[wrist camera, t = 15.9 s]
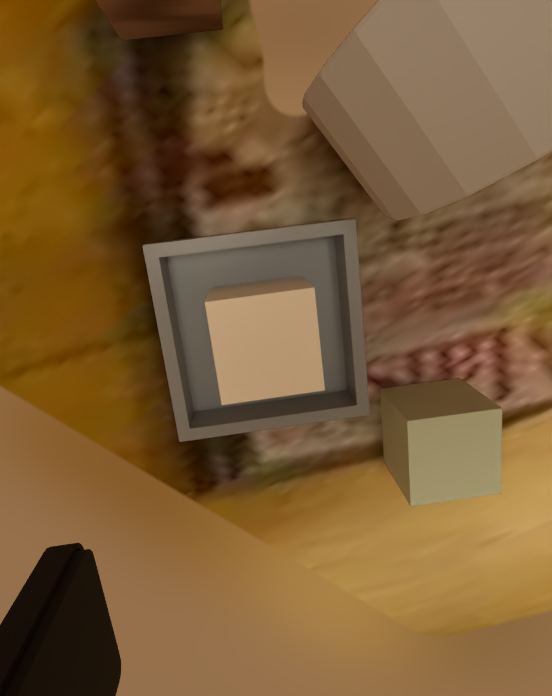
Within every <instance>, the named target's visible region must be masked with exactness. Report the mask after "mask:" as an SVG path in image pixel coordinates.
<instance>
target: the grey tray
mask: <svg viewBox="0 0 552 696" xmlns="http://www.w3.org/2000/svg"><path fill="white" fill-rule="evenodd" d="M142 246H143V251H144V256H145V261H146V267H147V272H148V277H149V283H150V288H151V293H152V299H153V304H154V309H155V315H156V320H157V325H158V330H159V336H160V341H161V346H162V352H163V357H164V362H165V368H166V373H167V378H168V383H169V389H170V394H171V399H172V405H173V410H174V415H175V421H176V426H177V431H178V436H179V442H182V441H189V440H196V439H204V438H211V437H218V436H225V435H232V434H239V433H246V432H253V431H260V430H267V429H274V428H281V427H288V426H295V425H302V424H309V423H316V422H323V421H330V420H337V419H344V418H351V417H358V416H365V415H370V410H369V396H368V382H367V368H366V354H365V341H364V327H363V313H362V299H361V285H360V272H359V258H358V244H357V230H356V219H340V220H332V221H324V222H316V223H308V224H300V225H292V226H284V227H276V228H268V229H260V230H252V231H244V232H236V233H228V234H219V235H211V236H203V237H195V238H187V239H179V240H171V241H163V242H155V243H150V244H146V245H142ZM294 276H302V277H303V278H304V279H305V280H306V281H307V282H309V283H310V284H311V285H312V286H313V287H314V288H315V298H316V308H317V317H318V327H319V337H320V347H321V356H322V366H323V376H324V386H325V390H324V391H317V392H310V393H303V394H296V395H290V396H283V397H276V398H269V399H262V400H255V401H248V402H241V403H234V404H227V405H222V404H221V398H220V392H219V386H218V380H217V374H216V368H215V362H214V356H213V350H212V344H211V337H210V331H209V325H208V319H207V313H206V307H205V300H206V298H207V296H208V293H209V291H210V289H211V287H219V286H226V285H234V284H241V283H249V282H256V281H264V280H271V279H279V278H286V277H294Z"/></svg>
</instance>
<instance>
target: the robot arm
mask: <svg viewBox="0 0 552 696" xmlns="http://www.w3.org/2000/svg"><path fill="white" fill-rule="evenodd" d="M120 675H121V659H120V655H119V650H118V646H117V643H116V639H115V635H114V631H113V627H112V623H111V620H110V616H109V612H108V608H107V604H106V601H105V597H104V593H103V589H102V585H101V581H100V578H99V574H98V570H97V566H96V562H95V559H94V555H93V552H92V551H91V550H90V549H87V550H84V548H83V546H82V545H81V544H80V543H74V544H67V545H60V546H53V547H49V548H47V549H46V551H45V552H44V553H43V555H42V556H41V558H40V560H39V561H38V563H37V565H36V566H35V568H34V570H33V571H32V573H31V575H30V576H29V578H28V580H27V581H26V583H25V585H24V586H23V588H22V590H21V591H20V593H19V595H18V597H17V598H16V600H15V601H14V603H13V605H12V606H11V608H10V610H9V611H8V613H7V615H6V616H5V618H4V620H3V621H2V623H1V625H0V696H116V692H117V688H118V684H119V680H120Z"/></svg>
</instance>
